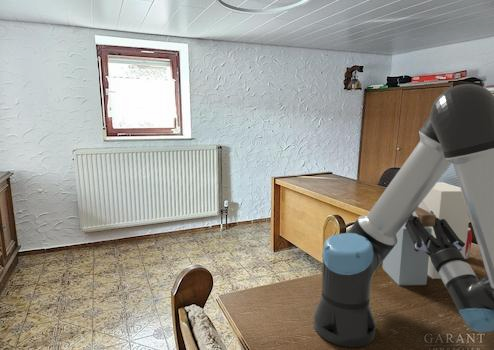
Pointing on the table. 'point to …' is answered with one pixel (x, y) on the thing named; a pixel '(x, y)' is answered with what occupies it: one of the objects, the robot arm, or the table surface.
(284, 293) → the table surface
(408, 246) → the tall pale gray pillar
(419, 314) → the table surface
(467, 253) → the soda can
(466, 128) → the robot arm
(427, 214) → the brown wooden beam
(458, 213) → the tall cream rectangular block
